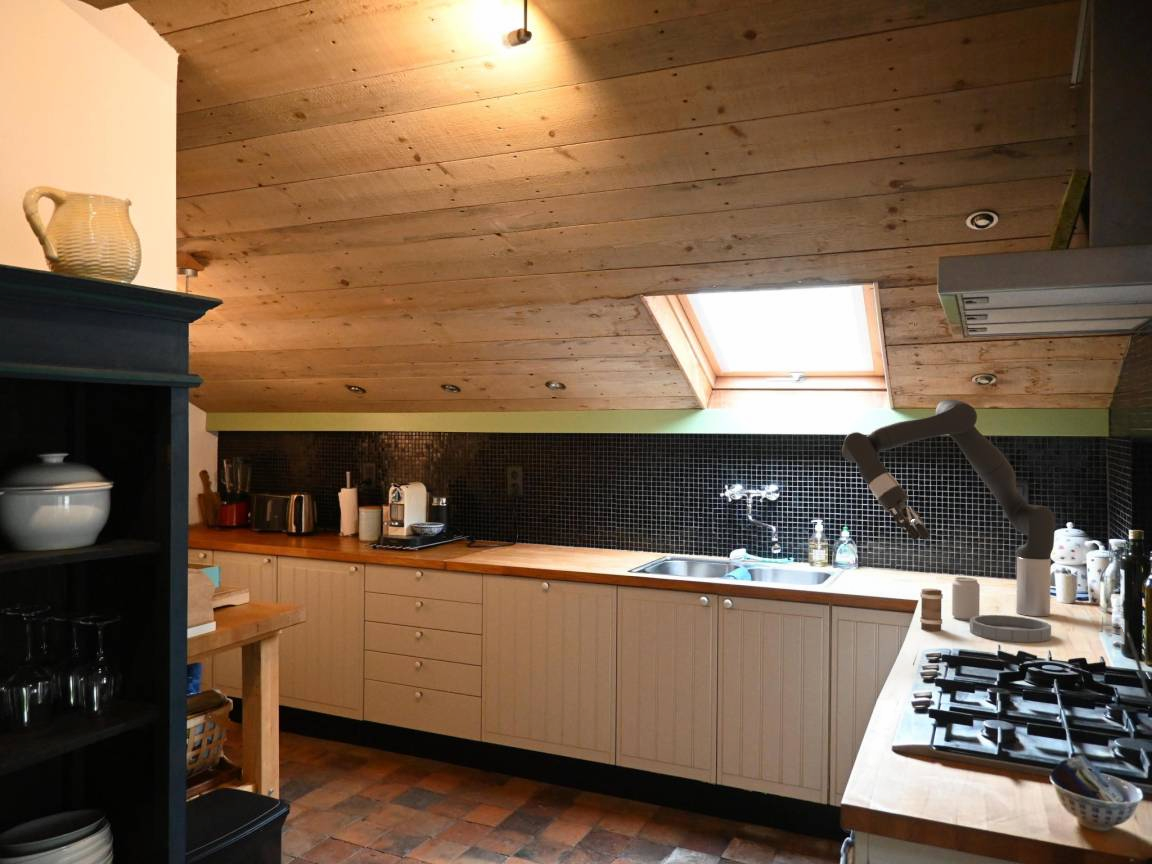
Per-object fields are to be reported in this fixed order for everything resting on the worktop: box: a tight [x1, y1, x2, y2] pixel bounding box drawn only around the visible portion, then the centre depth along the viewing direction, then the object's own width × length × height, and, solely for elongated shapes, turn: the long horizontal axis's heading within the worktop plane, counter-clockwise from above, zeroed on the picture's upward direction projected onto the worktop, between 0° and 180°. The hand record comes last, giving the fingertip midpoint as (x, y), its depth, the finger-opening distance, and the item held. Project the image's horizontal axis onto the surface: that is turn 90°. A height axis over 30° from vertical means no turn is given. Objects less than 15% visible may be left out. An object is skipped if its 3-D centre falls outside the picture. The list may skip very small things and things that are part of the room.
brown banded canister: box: [919, 588, 944, 632], centre depth 254 cm, size 6×6×11 cm
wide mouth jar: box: [951, 576, 981, 622], centre depth 269 cm, size 8×8×12 cm
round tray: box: [969, 614, 1052, 644], centre depth 248 cm, size 20×20×3 cm
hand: (922, 538), depth 255 cm, fingers open, 8 cm apart
